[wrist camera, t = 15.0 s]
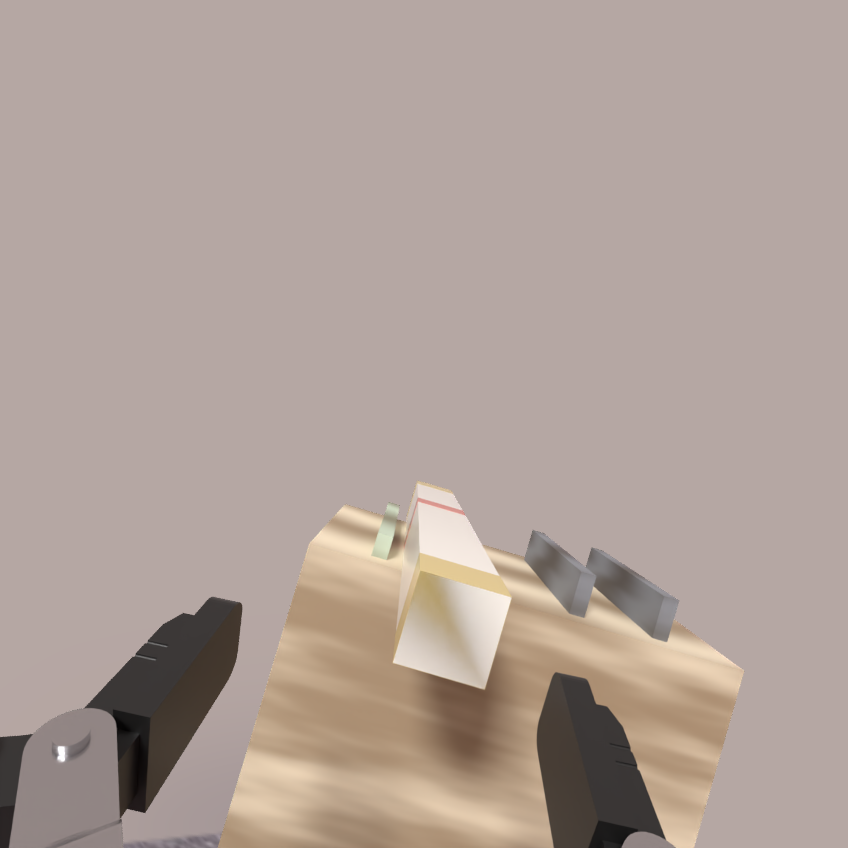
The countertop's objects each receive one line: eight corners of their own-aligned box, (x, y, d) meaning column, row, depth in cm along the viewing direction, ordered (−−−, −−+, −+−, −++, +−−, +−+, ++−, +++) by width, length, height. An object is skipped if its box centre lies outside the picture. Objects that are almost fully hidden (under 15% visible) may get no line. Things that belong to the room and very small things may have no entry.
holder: (216, 932, 35) (353, 475, 35) (509, 1013, 35) (640, 560, 35) (112, 1199, 23) (322, 499, 23) (559, 1319, 23) (756, 627, 23)
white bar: (406, 514, 38) (417, 480, 38) (441, 524, 38) (451, 490, 38) (392, 663, 14) (420, 570, 14) (485, 690, 14) (511, 597, 14)
